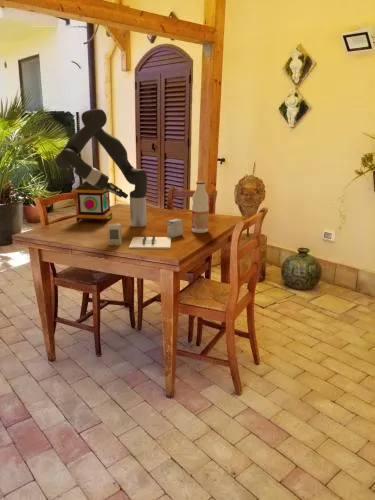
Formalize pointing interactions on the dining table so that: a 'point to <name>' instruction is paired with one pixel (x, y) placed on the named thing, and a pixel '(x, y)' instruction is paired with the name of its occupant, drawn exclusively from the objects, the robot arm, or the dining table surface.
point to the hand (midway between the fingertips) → (124, 196)
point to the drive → (114, 234)
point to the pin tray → (150, 242)
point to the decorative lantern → (93, 203)
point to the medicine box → (174, 227)
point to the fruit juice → (200, 209)
